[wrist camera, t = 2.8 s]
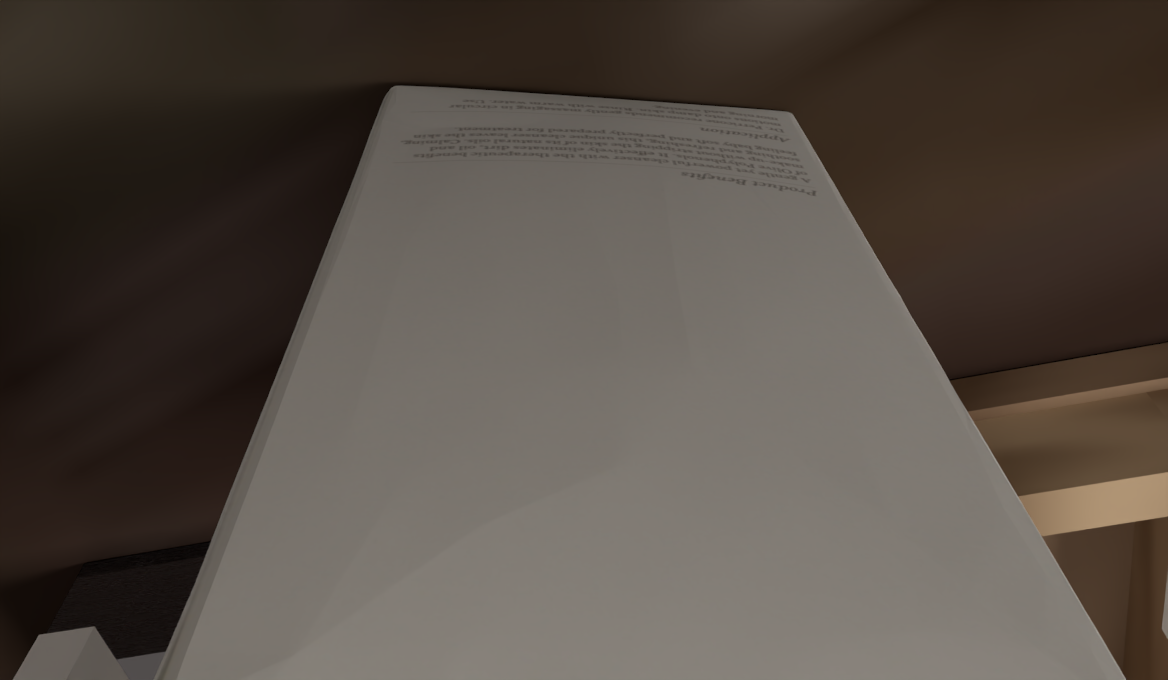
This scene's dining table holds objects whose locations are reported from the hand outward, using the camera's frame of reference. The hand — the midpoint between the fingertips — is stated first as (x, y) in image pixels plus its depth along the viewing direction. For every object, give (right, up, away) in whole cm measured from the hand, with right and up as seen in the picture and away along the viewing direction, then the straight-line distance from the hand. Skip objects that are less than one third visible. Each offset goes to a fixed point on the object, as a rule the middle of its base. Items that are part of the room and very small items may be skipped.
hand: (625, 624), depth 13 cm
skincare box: (0, +6, +9) cm, 11 cm away
